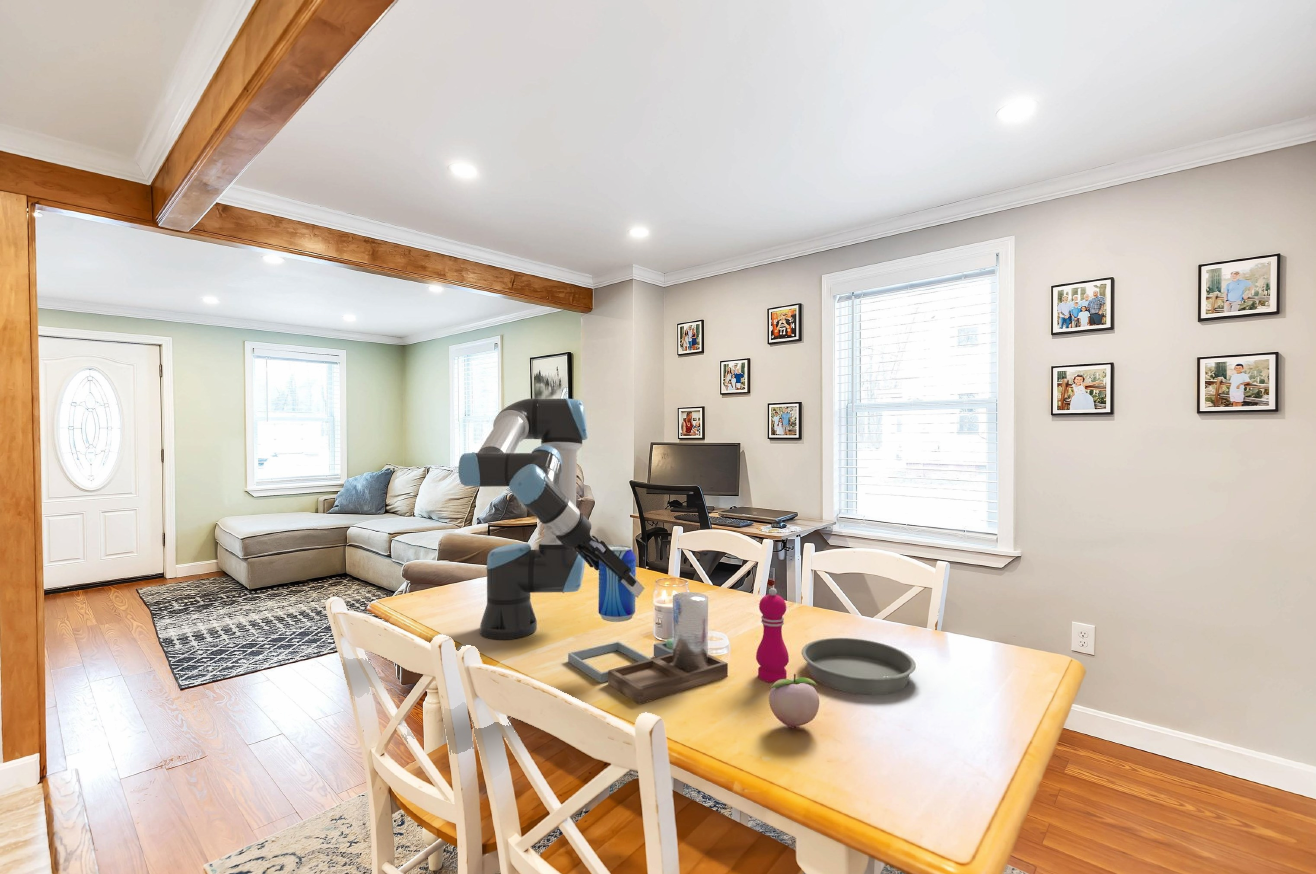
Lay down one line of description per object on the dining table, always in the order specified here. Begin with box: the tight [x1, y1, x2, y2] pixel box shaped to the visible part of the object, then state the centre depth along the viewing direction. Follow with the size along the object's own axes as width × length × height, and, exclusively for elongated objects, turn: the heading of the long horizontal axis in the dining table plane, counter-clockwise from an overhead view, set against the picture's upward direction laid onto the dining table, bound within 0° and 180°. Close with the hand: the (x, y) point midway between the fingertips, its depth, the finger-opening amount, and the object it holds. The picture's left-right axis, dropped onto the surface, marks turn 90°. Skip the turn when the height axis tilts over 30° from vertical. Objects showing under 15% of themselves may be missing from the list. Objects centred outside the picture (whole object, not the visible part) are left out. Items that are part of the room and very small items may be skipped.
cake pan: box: [801, 637, 917, 695], centre depth 137 cm, size 25×25×4 cm
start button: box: [665, 637, 673, 650], centre depth 147 cm, size 4×4×4 cm
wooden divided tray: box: [607, 653, 729, 705], centre depth 133 cm, size 12×24×3 cm, turn 126°
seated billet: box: [672, 591, 709, 673], centre depth 137 cm, size 8×8×16 cm
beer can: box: [598, 544, 637, 623], centre depth 138 cm, size 8×8×16 cm
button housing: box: [653, 640, 673, 658], centre depth 147 cm, size 7×7×3 cm
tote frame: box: [567, 640, 652, 684], centre depth 142 cm, size 15×14×2 cm
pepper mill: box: [755, 587, 790, 684], centre depth 135 cm, size 7×7×20 cm
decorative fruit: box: [768, 673, 820, 729], centre depth 112 cm, size 9×8×10 cm
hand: (629, 588), depth 140 cm, fingers closed on beer can, 8 cm apart
